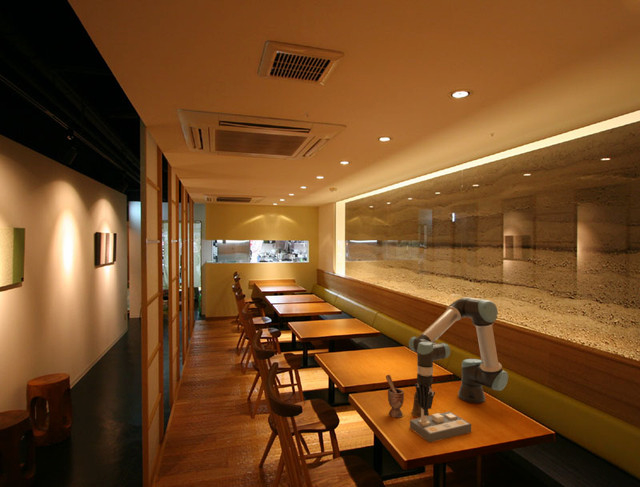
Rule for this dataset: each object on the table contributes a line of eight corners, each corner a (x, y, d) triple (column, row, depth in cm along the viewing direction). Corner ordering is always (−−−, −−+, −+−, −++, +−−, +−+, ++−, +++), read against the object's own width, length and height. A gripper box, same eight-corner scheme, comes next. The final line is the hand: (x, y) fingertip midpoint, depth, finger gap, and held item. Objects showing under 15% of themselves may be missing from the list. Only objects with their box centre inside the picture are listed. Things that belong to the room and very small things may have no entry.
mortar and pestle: (379, 413, 207) (380, 377, 207) (387, 408, 214) (387, 373, 213) (399, 419, 200) (399, 382, 200) (406, 414, 206) (406, 377, 206)
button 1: (424, 426, 190) (424, 418, 190) (430, 430, 187) (430, 422, 187) (418, 428, 189) (418, 420, 189) (423, 431, 185) (423, 423, 185)
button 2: (450, 420, 197) (450, 413, 197) (456, 424, 193) (456, 416, 193) (444, 422, 196) (445, 414, 196) (450, 425, 192) (450, 417, 192)
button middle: (438, 420, 194) (438, 413, 194) (443, 424, 190) (443, 416, 190) (431, 422, 192) (432, 414, 192) (437, 425, 189) (437, 417, 188)
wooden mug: (435, 411, 210) (436, 379, 210) (423, 419, 200) (423, 385, 200) (421, 406, 216) (422, 375, 216) (408, 413, 207) (409, 381, 207)
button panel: (449, 418, 201) (449, 411, 201) (471, 432, 188) (471, 423, 188) (409, 427, 191) (410, 419, 191) (429, 442, 177) (429, 433, 177)
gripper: (410, 370, 192) (410, 416, 192) (427, 379, 180) (426, 428, 180) (422, 368, 195) (421, 414, 195) (439, 377, 183) (439, 425, 183)
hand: (424, 420), depth 188 cm, fingers closed
